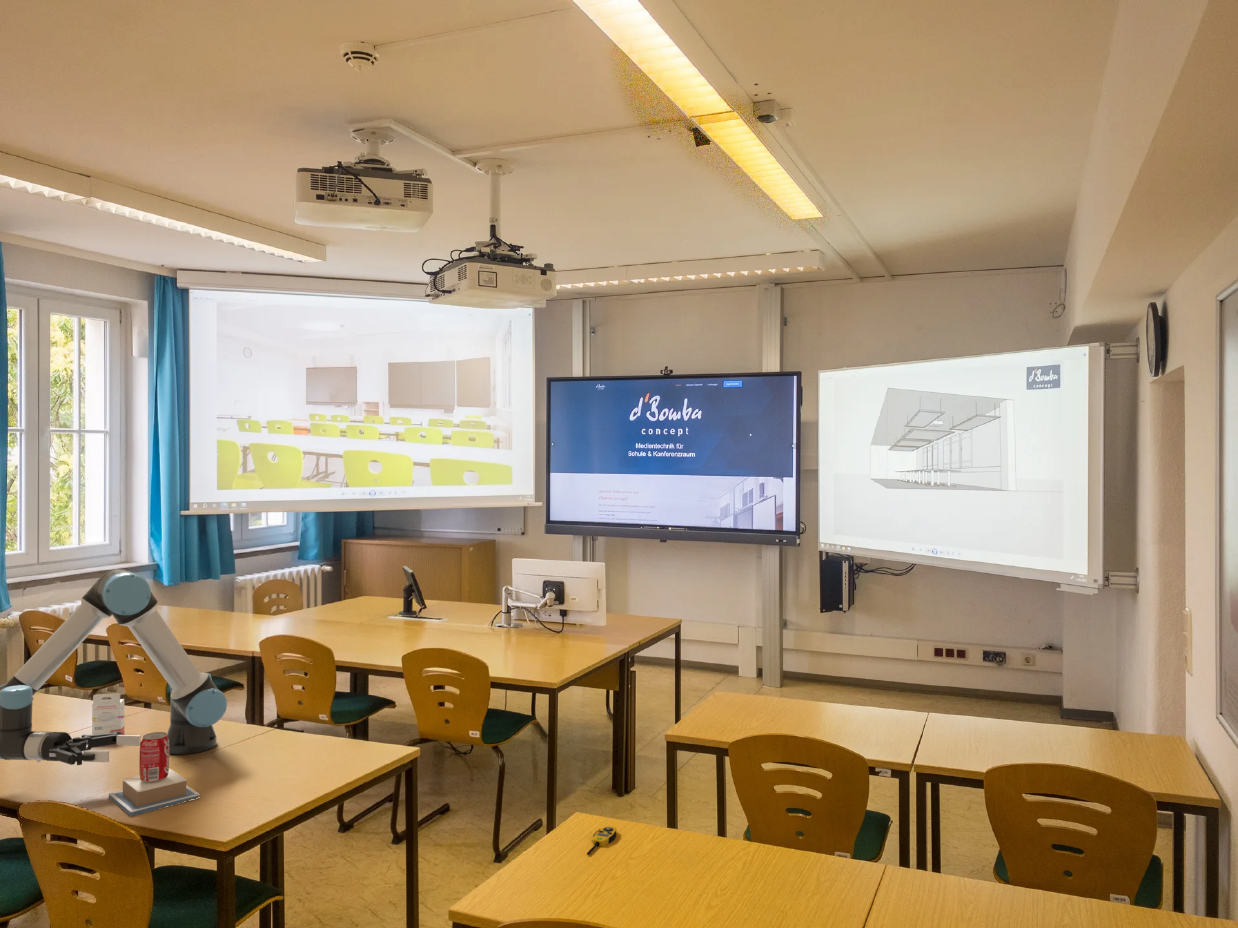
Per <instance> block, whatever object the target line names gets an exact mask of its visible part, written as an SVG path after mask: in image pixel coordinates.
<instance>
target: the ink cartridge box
mask: <svg viewBox="0 0 1238 928" xmlns="http://www.w3.org/2000/svg"><path fill="white" fill-rule="evenodd" d="M103 698H106V699H103ZM107 698H108V699H107ZM109 698H110V699H109ZM91 706H92V708H91V709H92V710H91V711H92V712H91V715H92V717H91V718H92V719H91V720H92V724H91V735H94V734H105V733H115V732H117V731H120V732H122V735H125V698H121V693H119V692H117V693H103V694H102V693H101V694H99V693H98V694H93V697H92V705H91Z"/></svg>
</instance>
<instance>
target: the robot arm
mask: <svg viewBox="0 0 1238 928" xmlns="http://www.w3.org/2000/svg"><path fill="white" fill-rule="evenodd" d="M158 605H159V601H158V600H157V598H156V597H155V595H154V594H153V593H152V591H151V587H150V584H149V582H148V581H147V580H146V579H145V578H144V577H143V576H142V575H140V574H138V573H136V572H132V571H130V570H128V569H126V568H125V569H124V568H116V569H111V570H109V571H107V572H105V573H103V574H102V575H101V576H100V577H98V579H97V580H96V582H94V584H93V585H92V586H91V587H90V588H89V590H87V591H86V592H85V594H84V595H83V596H82V597H81V599H80V605H79V606H77V608H75V610H74V611H73V612H72V613H71V615H69V616H68V617H67V618H66V620H64V621H63V623H61V625H60V626H59V627H58V628H57V629H56V630H55V631H54V633H52V635H50V637H48V639H47V640H46V641H45V642H44V643H43V644H42V645H41V646H40V647H39V648H38V649H37V651H36V652H34V654H33V655H32V656H31V657H30V658H29V659H28V660H27V661H26V662H24V663H25V664H23V666H21V668H19V669H18V671H17V672H16V673H15V674H14V675H13V676H12V677H11V678H10V679H9V680H8V682H6V683H4V684H2V685H0V760H4V761H36V762H37V763H41V761H47V762H60V763H64V764H67V765H70V766H71V765H75V764H76V766H81V765H83V762H84V763H85V762H87V763H88V762H89V763H109V762H110V750H92V748H98V747H106V746H111V745H116V746H127V747H129V746H131V747H140V743H141V741H142V736H141V735H140V734H136V735H134V734H123V735H122V732H120V731H117V732H115V733H105V734H94V735H92V734H82V735H81V737H79V736H78V737H73V738H72V737H71V735H70V734H69V732H65V731H43V730H42V731H41V730H40V731H38V730H37V731H36V730H34V731H33V704H34V703H33V700H34V695H35V694H36V693H37V692H38V691H39V690H40V689H41V688H42V686H43V685H44V684H45V683H46V682H47V681H48V680H49V678H51V677H52V676H53V675H54V673H55V672H56V671H57V670H58V669H59V668H60V667H61V665H63V664H64V663H65V661H66V660H67V659H68V658H69V657H70V656H71V655H72V654H73V653H74V652H75V650H77V648H79V646H80V645H81V644H82V643H83V642H84V641H85V640H86V639H87V638H88V636H89V635H91V633H92V632H93V631H94V630H95V629H96V628H97V626H99V625H100V624H101V622H102V621H104V619H110V618H111V617H112V616H113V618H114V620H115V621H116V622H117V624H118V625H119V626H122V627H123V626H124V627H128V629H129V630H130V632H131V633H132V634H133V636H134V637H135V639H136V640H137V641H138V643H139V645H140V646H141V647H142V649H143V650H144V651H145V653H146V654H147V656H148V657H149V659H150V660H151V661H152V663H153V664H154V665H155V667H156V668H157V670H158V671H159V673H160V674H161V675H162V677H163V678H164V680H165V681H166V683H167V684H168V685H169V686H170V687H169V689H170V708H169V709H170V710H169V711H170V713H169V714H170V716H169V717H170V719H169V720H170V721H169V722H170V723H169V728H168V731H167V735H166V736H167V737H168V739H169V755H189V754H195V753H201V752H205V751H209V750H210V749H213V748H214V747H215V746H217V739H218V738H217V735H216V731H215V729H214V726H213V725H215V724H216V723H218V722H219V721H220V720H221V719H222V718H223V717H224V715H225V714H226V711H227V708H228V701H227V697H226V696H225V693H224V692H223V691H221V690H220V689H218V687H217V686H216V684H215V683H214V681H213V679H212V674H211V673H207V672H201V671H199V670H198V668H197V666H196V665H195V664H194V662H193V660H192V659H191V658H190V656H189V655H188V653H187V651H185V649H184V647H183V646H182V645H181V643H180V642H179V640H178V639H177V637H176V636H175V634H174V633H173V632H172V630H171V629H170V627H169V626H168V624H167V623H166V621H165V620H164V618H163V617H162V616H161V614H160V612H159V611H158Z"/></svg>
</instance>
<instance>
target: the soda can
mask: <svg viewBox="0 0 1238 928" xmlns="http://www.w3.org/2000/svg"><path fill="white" fill-rule="evenodd" d="M167 733H168V732H167ZM167 733H166V732H165V731H164V732H163V731H156V732H149V733H146V734H144V735H143V736H142V738H141V743H140V746H139V769H138V770H139V772H138V773H139V776H140V780H142V781H144V782H145V783H155V782H159V781H162V780H164V778H166V777H167V776H168V772H169V769H170V753H169V739H168V737H167Z"/></svg>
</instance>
